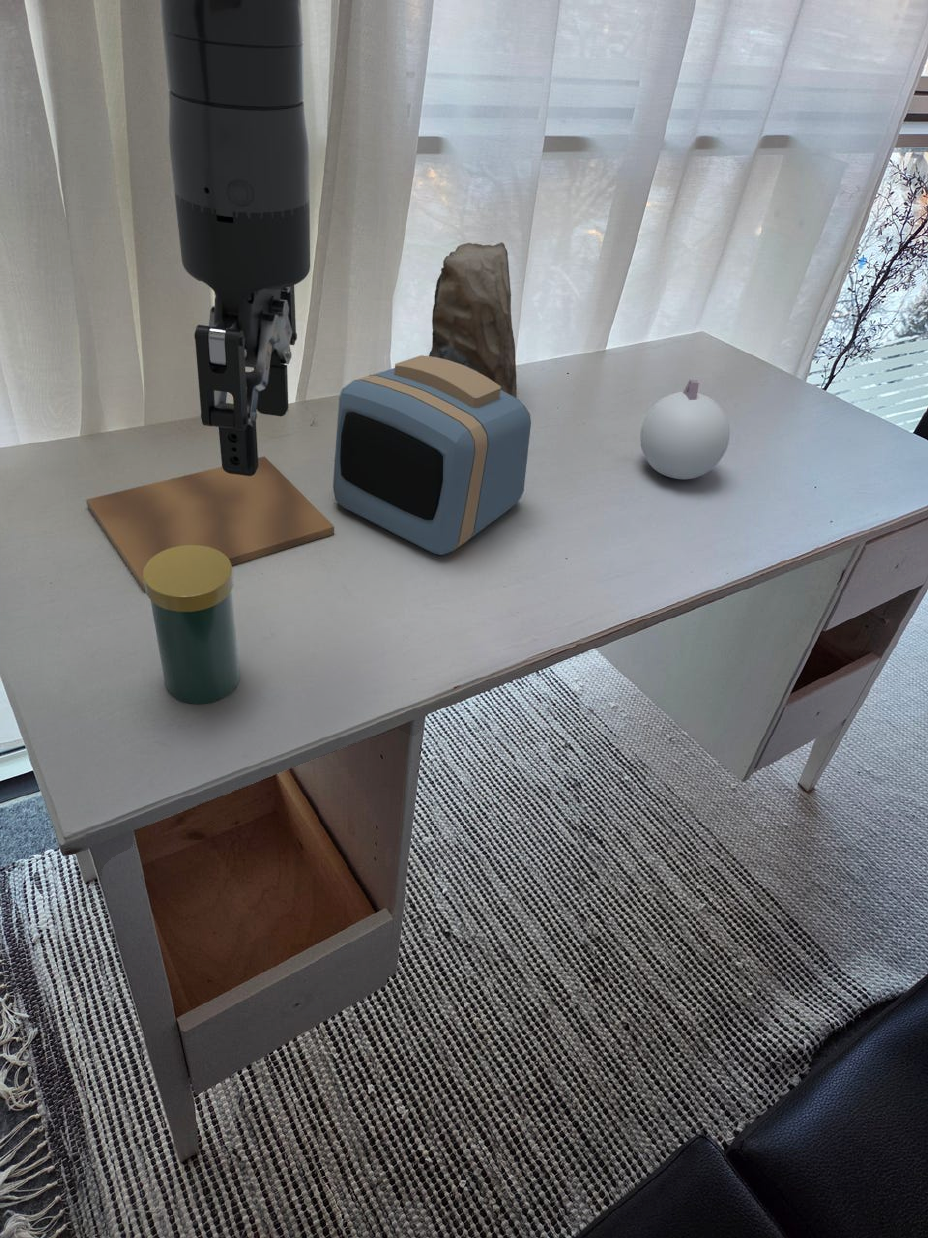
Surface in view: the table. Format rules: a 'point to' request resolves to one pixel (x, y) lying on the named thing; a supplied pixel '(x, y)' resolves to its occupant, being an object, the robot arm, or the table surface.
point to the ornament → (685, 434)
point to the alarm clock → (430, 451)
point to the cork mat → (209, 516)
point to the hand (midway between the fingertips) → (257, 441)
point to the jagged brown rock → (476, 313)
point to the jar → (194, 621)
